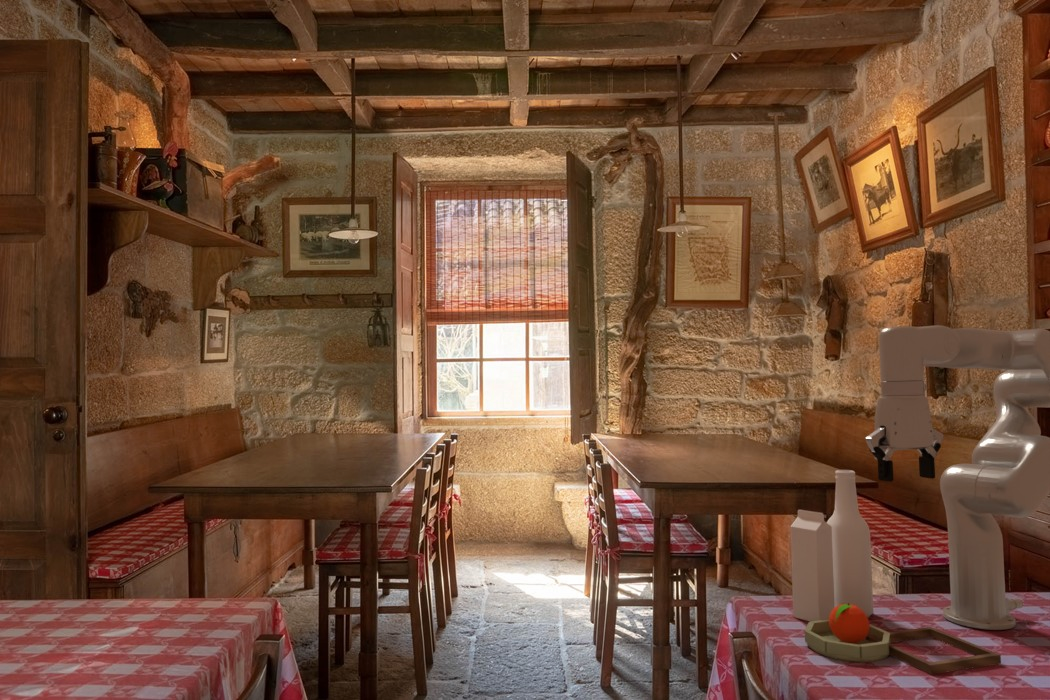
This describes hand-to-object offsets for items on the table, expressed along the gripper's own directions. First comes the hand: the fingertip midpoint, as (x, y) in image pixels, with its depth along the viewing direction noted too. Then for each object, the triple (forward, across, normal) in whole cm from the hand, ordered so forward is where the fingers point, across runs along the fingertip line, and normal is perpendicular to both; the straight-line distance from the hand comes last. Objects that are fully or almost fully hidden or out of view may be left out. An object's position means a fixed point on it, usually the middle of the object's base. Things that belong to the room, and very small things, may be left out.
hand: (906, 479), depth 138 cm
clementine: (+29, +15, 0) cm, 33 cm away
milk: (+30, +10, -16) cm, 36 cm away
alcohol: (+30, +1, -16) cm, 34 cm away
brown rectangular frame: (+30, +3, +7) cm, 31 cm away
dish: (+30, +15, 0) cm, 34 cm away
